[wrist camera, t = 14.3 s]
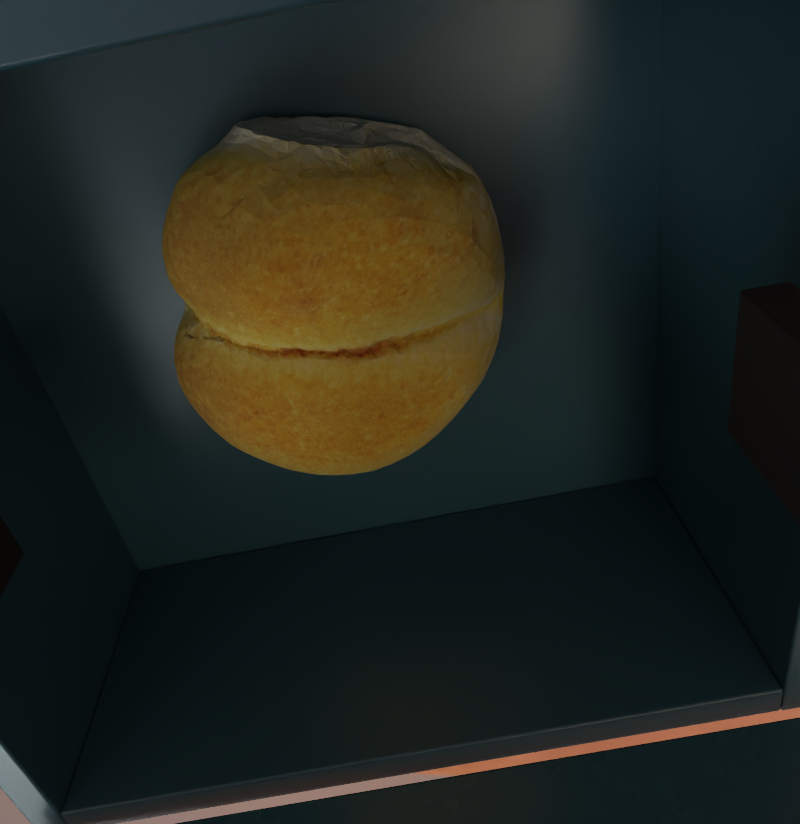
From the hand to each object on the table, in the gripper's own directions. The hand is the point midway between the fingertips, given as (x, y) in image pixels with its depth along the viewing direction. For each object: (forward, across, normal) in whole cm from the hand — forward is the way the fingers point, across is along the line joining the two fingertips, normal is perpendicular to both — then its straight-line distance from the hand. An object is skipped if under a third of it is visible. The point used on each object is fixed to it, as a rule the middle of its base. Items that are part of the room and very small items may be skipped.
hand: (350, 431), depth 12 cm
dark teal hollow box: (+8, -1, -1) cm, 9 cm away
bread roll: (+8, -1, 0) cm, 8 cm away
